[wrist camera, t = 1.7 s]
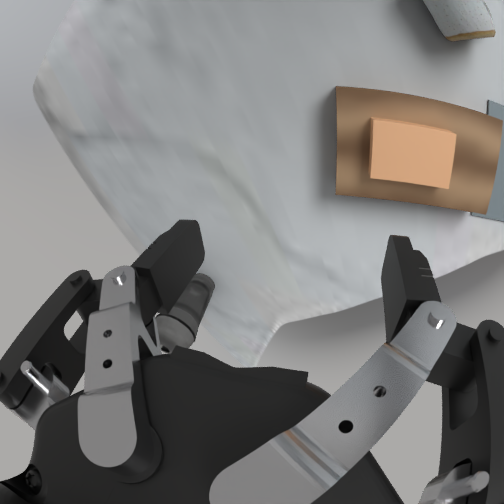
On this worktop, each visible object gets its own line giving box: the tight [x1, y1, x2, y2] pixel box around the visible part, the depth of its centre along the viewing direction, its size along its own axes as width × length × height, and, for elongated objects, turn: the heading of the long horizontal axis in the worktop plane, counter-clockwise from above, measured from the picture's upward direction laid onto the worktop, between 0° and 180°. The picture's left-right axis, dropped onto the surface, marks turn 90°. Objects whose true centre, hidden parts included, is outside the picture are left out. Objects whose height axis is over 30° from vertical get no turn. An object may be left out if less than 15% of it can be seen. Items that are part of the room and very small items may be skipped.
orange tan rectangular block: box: [368, 117, 457, 189], centre depth 22 cm, size 6×9×2 cm, turn 95°
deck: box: [336, 86, 503, 215], centre depth 24 cm, size 12×20×4 cm, turn 95°
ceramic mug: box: [423, 0, 496, 42], centre depth 10 cm, size 11×8×8 cm
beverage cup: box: [155, 273, 215, 354], centre depth 42 cm, size 7×7×20 cm
